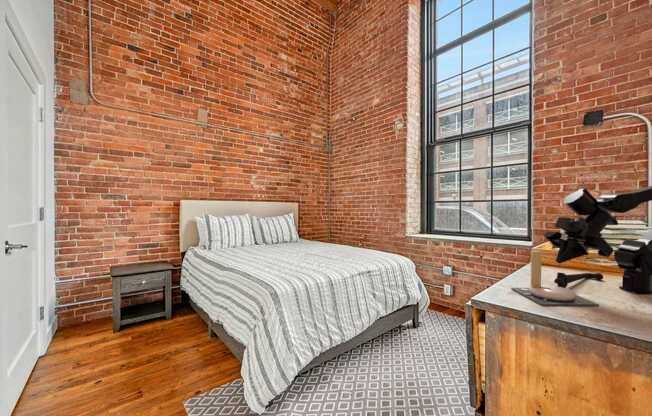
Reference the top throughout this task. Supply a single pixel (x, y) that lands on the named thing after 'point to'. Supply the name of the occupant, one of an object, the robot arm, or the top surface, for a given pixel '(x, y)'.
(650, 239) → the robot arm
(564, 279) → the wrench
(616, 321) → the top surface
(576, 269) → the top surface
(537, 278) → the beige stand
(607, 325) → the top surface
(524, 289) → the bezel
